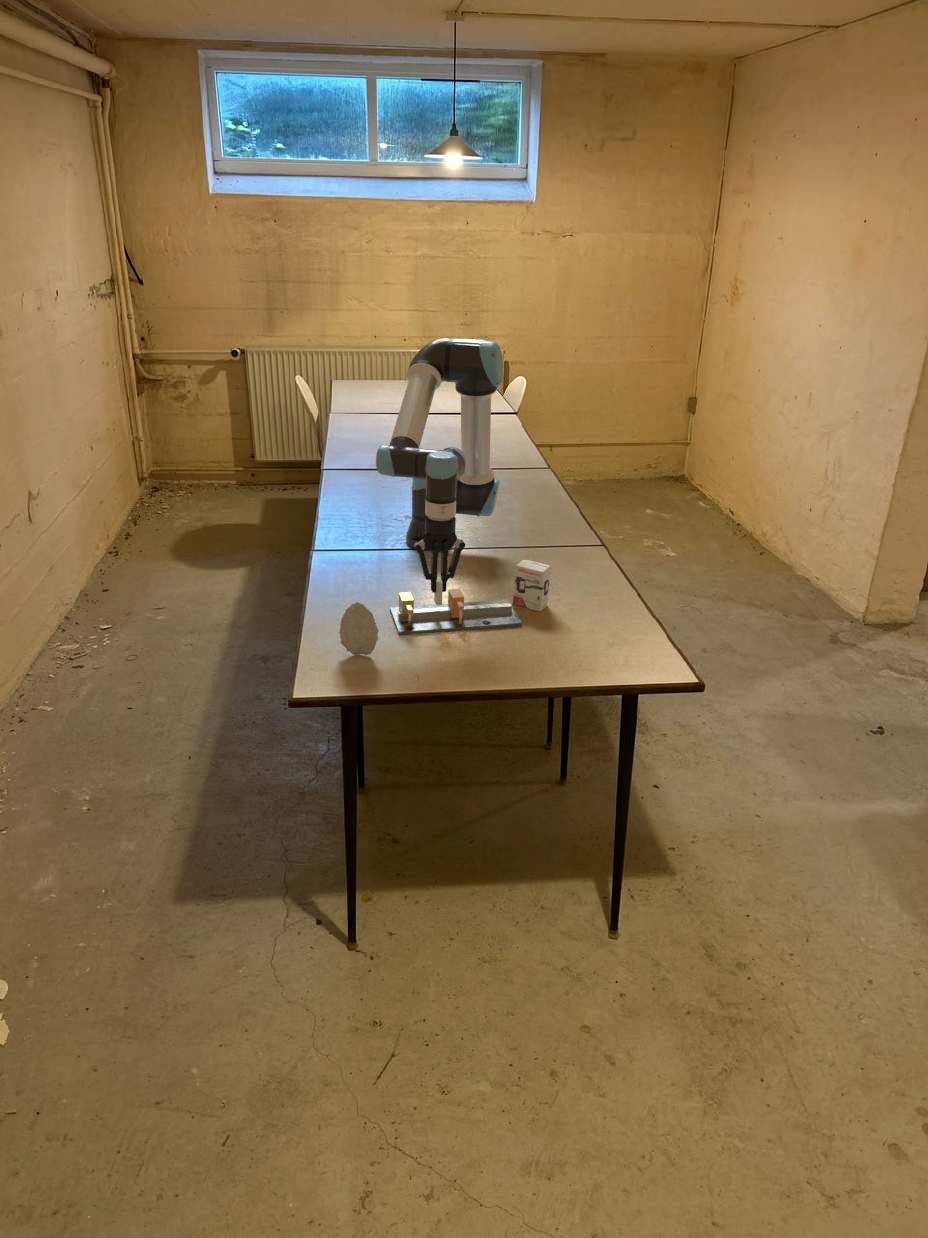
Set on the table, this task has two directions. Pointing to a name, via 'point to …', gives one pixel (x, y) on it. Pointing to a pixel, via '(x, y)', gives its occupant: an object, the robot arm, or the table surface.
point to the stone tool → (358, 630)
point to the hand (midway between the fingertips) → (438, 602)
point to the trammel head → (456, 603)
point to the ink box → (531, 585)
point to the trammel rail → (444, 610)
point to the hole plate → (456, 621)
